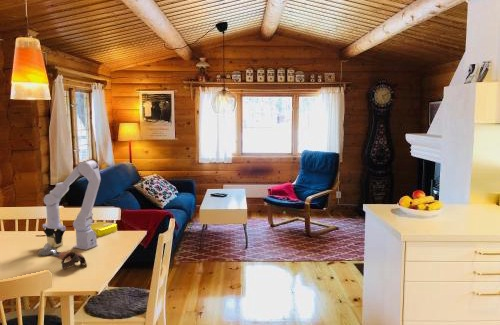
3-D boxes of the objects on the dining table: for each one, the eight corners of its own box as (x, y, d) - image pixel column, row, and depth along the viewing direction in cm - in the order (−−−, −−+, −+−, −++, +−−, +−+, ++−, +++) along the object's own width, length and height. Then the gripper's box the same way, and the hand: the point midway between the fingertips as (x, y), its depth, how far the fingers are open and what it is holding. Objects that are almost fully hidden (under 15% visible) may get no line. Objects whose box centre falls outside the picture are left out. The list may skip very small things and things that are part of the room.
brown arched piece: (89, 270, 175) (79, 257, 171) (68, 281, 173) (58, 268, 169) (87, 255, 185) (78, 242, 181) (68, 265, 183) (58, 253, 179)
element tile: (99, 228, 241) (98, 220, 240) (118, 231, 235) (118, 223, 234) (79, 234, 227) (78, 226, 227) (99, 238, 221) (99, 229, 221)
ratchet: (80, 255, 192) (80, 246, 191) (66, 261, 185) (66, 251, 184) (49, 249, 201) (48, 240, 200) (34, 254, 194) (34, 245, 193)
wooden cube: (62, 244, 207) (62, 235, 207) (54, 247, 203) (53, 237, 202) (56, 243, 210) (55, 234, 209) (47, 246, 205) (46, 236, 204)
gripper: (70, 216, 205) (71, 242, 207) (50, 213, 211) (52, 238, 213) (58, 219, 199) (60, 246, 200) (38, 216, 205) (40, 242, 206)
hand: (55, 242), depth 206 cm, fingers closed on wooden cube, 5 cm apart
